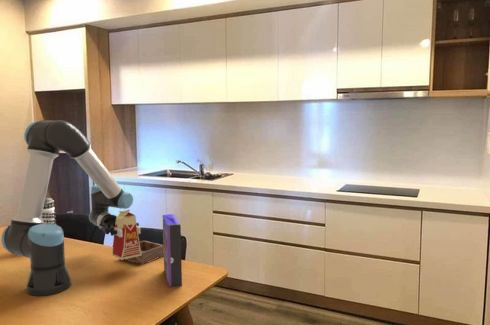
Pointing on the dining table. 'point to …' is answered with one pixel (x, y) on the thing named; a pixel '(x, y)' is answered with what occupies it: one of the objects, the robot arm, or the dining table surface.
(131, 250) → the milk carton
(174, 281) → the cereal box
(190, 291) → the dining table surface
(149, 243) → the open box
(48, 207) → the spiral seashell
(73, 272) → the dining table surface
